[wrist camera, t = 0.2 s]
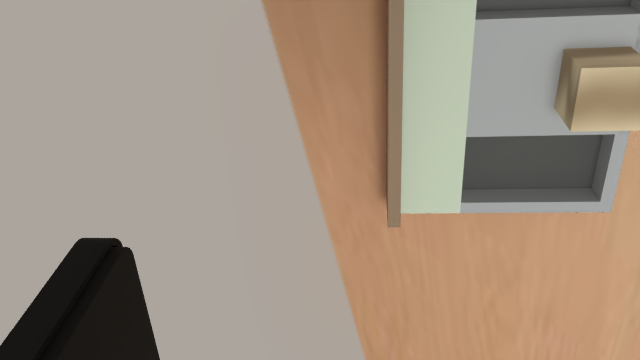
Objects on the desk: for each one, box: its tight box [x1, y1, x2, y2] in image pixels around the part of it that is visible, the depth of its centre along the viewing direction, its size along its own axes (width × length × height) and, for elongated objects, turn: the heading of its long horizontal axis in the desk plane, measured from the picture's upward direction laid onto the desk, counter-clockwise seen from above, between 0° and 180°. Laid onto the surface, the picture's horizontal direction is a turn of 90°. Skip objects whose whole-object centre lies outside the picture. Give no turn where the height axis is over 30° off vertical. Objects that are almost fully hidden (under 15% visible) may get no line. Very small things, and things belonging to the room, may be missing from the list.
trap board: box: [386, 0, 640, 227], centre depth 43 cm, size 23×18×4 cm
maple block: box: [554, 47, 640, 132], centre depth 40 cm, size 4×4×4 cm
